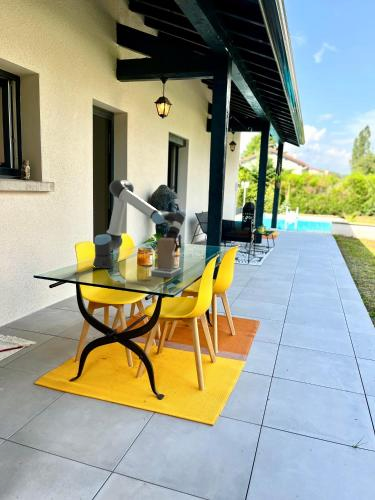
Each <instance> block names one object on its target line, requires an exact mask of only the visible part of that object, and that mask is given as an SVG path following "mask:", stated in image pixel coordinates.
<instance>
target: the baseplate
mask: <svg viewBox="0 0 375 500" xmlns="http://www.w3.org/2000/svg"><path fill="white" fill-rule="evenodd" d="M180 273H181V274H182V268H181V267H175V266H174V267H173V268H172V269H159V268H158V267H156V268H153V269H151V270H150V276H152V277H159V278H160V277H161V278H169V279H173V278H174V277H176V276H178V274H179V275H181V274H180Z"/></svg>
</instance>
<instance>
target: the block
mask: <svg viewBox="0 0 375 500" xmlns="http://www.w3.org/2000/svg"><path fill="white" fill-rule="evenodd" d="M160 237H161V236H160ZM160 237H159V238H158V239H157V240H156V242H157V246H156V247H157V255H156V256H157V257H156V258H157V260H156V262H157V263H156V264H157V265H156V266H157V267H156V268H159V269H172V268H173V267H175V256H174V257H173V256H172V252H173V249H174V247H175V246H176V245H175V242H174V241H175V239H174V238H164V237H161V238H160Z"/></svg>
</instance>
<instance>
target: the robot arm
mask: <svg viewBox="0 0 375 500" xmlns="http://www.w3.org/2000/svg"><path fill="white" fill-rule="evenodd" d="M109 191H110V193H111V194H112V195H113V198H114V202H113V203H114V204H113V209H112V214H111V217H110V218H111V219H110V222H109V228H108V229H107V230H106V233H105V234H97V235H95V237H94V243H93V244H94V260H93V262H92V266H93V265H94V266H95V267H99V268H108V269H112V268H114V267H115V263H114V260H113V257H112V251H115V250H117V249H119V248H120V247H122V244H123V237H122V232H121V231H122V230H121V229H122V226H123V220H124V216H125V210H126V207H127V204H128V205H130V206H132V207H133V208H134V209H135V210H137V211H139V212H140V213H142V215H144V216H146V217H147V218H149V219H151V221H152V223H154V224H155V225H160V224H164V223H169V224H170V225H169V229H168V230H167V233H162V234H161V236H160V237H159V238H161V237H164V238H174V239H175V241H174V242H175V247H174V249H173V252H172V256H173V257H174V258H175V254H176V253H177V252H178V249H182V235H181V234H180V231H181V230H182V226H183V224H184V222H185V220H186V216H187V214H186V213H185V211H183V210H181V209H179V210H176V211H175V212H172V211H167V210H166V211H165V210H158V209H156V208H155V207H153V206H152V205H151V204H149V203H147V202H146V201H145V200H143V199H142V198H140V197H139V196H137V195H136V194H134V191H135V190H134V184H133V183H132V182H131V181H130V180H128V179H114V180H113V181H112V182H111V183H110V184H109ZM176 239H177V240H178V242H177V240H176ZM155 246H156V247H155V249H156V250H155V251H154V253H155V255H156V256H157V241H155Z"/></svg>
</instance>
